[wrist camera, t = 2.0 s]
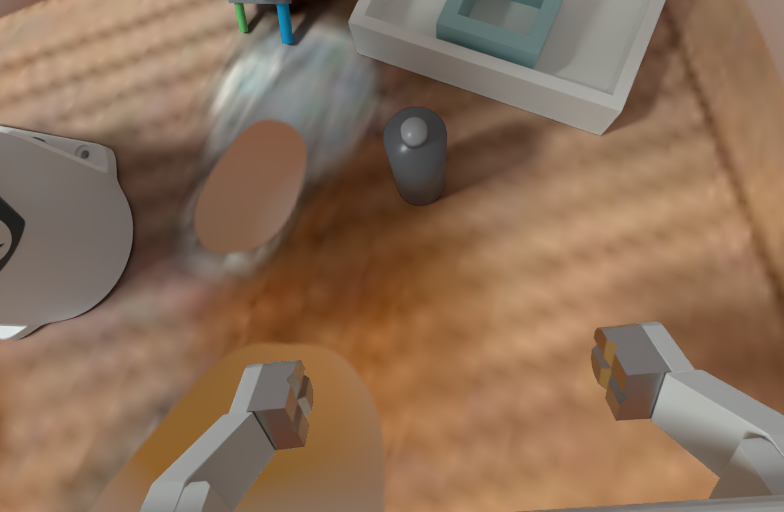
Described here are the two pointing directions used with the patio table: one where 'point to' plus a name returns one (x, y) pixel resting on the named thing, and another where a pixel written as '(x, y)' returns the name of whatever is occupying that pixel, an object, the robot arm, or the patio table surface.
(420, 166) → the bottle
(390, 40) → the walled box
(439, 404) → the patio table surface
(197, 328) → the patio table surface
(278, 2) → the gear
